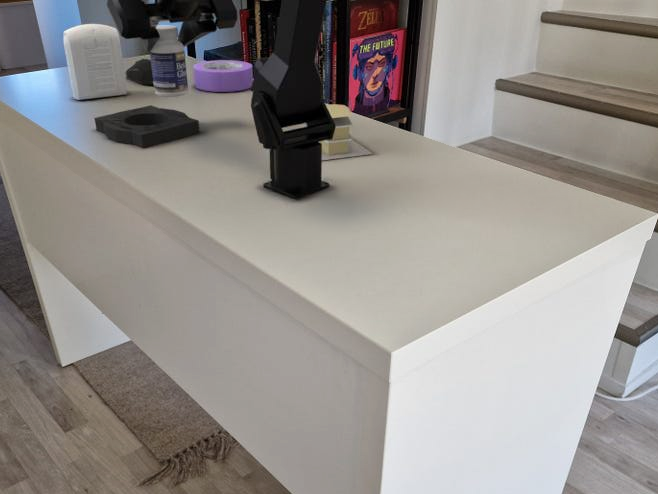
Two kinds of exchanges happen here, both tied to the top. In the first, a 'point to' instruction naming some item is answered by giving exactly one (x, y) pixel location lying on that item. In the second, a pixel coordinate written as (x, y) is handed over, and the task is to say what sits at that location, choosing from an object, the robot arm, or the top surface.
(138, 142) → the pad
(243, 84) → the tape roll
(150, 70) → the gaming mouse
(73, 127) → the top surface
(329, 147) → the stacked layers on plate
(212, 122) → the top surface
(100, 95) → the white upright block
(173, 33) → the pill bottle
